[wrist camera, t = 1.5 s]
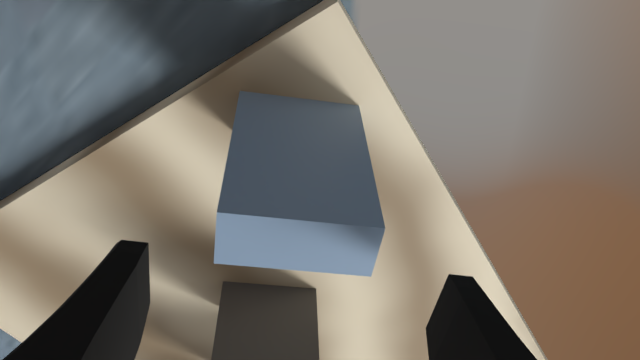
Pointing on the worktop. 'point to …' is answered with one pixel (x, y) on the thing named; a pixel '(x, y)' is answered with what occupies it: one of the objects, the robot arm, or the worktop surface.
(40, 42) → the worktop surface
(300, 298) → the tile
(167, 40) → the worktop surface
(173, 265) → the board
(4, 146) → the worktop surface
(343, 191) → the tile blue
